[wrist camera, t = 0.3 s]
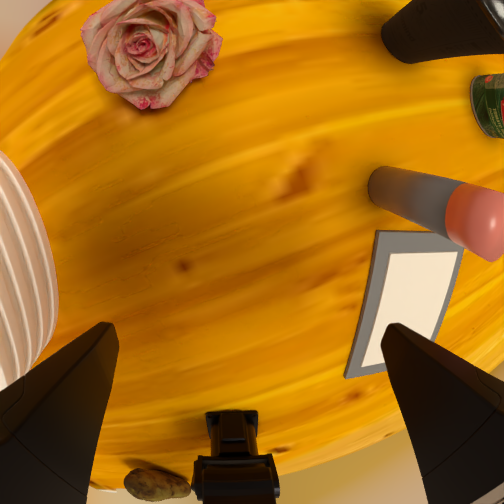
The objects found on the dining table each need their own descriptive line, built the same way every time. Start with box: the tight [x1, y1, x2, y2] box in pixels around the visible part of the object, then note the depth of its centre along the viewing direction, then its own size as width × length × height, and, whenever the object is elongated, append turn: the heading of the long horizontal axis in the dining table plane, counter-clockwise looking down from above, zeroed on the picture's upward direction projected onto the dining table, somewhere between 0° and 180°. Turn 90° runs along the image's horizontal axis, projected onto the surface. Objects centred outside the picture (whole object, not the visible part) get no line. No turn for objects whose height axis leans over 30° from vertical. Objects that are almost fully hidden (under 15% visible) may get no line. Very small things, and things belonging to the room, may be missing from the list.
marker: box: [368, 166, 504, 262], centre depth 16 cm, size 4×4×13 cm
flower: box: [80, 0, 223, 109], centre depth 14 cm, size 10×9×8 cm
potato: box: [124, 468, 191, 502], centre depth 33 cm, size 8×13×8 cm, turn 21°
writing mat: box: [344, 230, 464, 379], centre depth 27 cm, size 18×13×1 cm
